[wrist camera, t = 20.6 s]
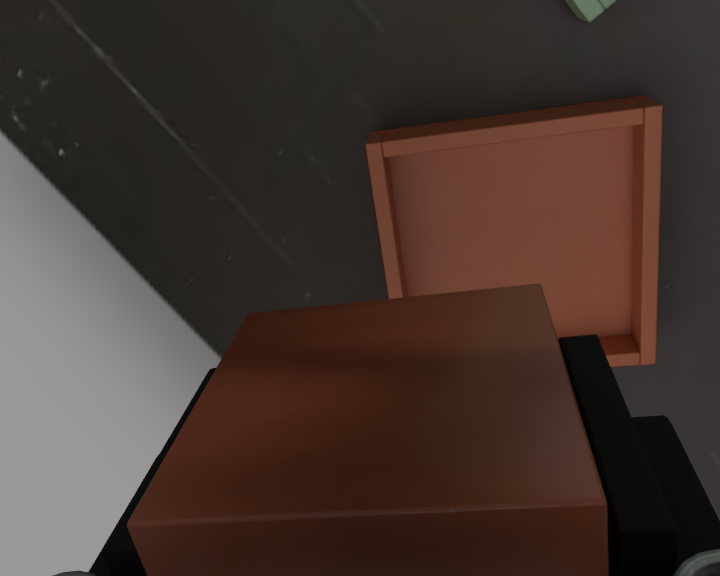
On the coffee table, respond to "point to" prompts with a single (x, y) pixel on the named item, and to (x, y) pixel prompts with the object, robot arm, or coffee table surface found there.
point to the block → (383, 448)
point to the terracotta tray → (532, 213)
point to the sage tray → (588, 8)
